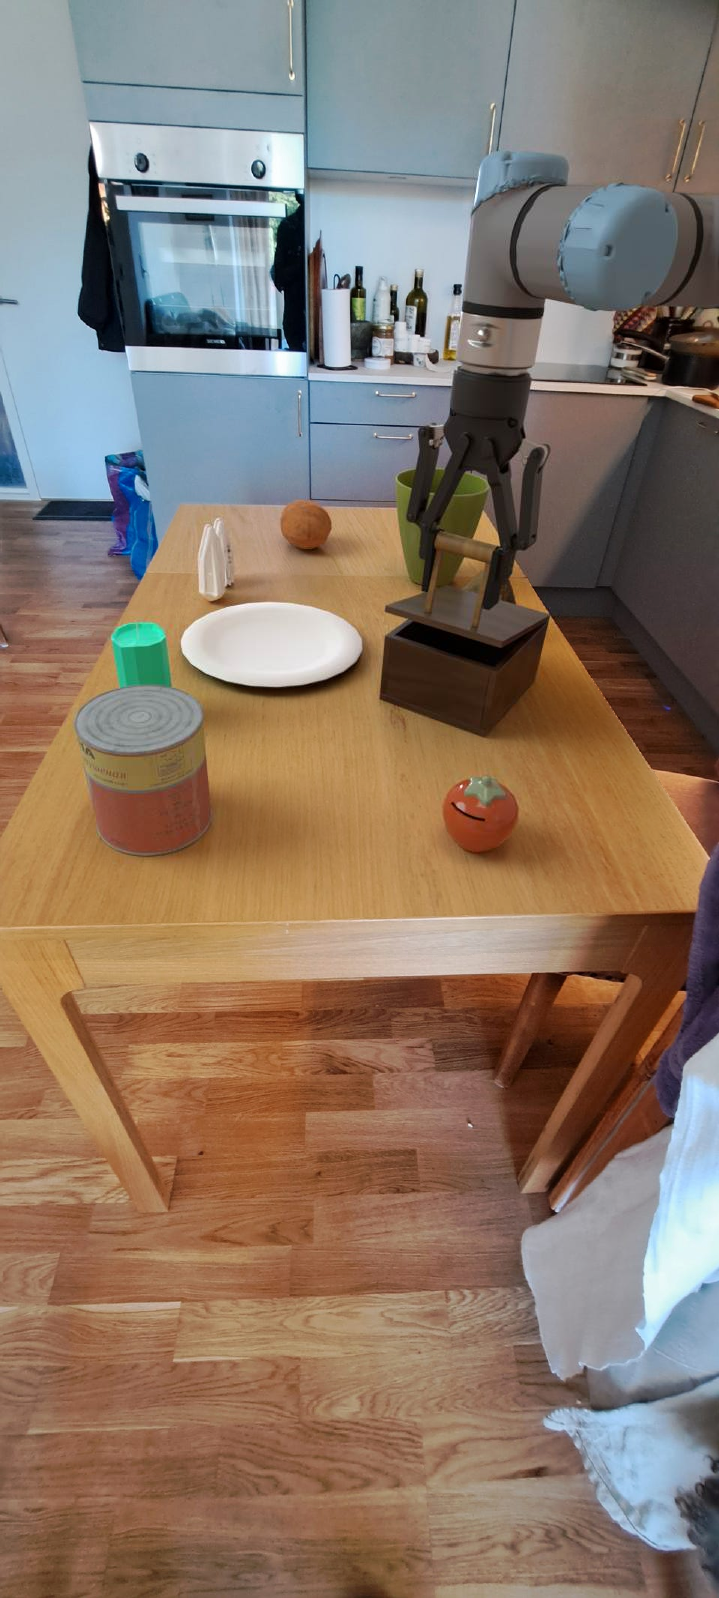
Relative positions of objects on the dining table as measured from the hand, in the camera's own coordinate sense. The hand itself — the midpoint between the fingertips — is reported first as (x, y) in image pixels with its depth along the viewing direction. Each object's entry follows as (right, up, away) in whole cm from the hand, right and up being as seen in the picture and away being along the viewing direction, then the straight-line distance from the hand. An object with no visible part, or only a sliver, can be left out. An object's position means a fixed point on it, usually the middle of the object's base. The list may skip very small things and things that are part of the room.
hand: (459, 596), depth 84 cm
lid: (+2, -1, +6) cm, 6 cm away
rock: (+7, +3, +29) cm, 30 cm away
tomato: (0, -28, -10) cm, 29 cm away
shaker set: (-34, +10, +33) cm, 48 cm away
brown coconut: (-21, +23, +50) cm, 59 cm away
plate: (-24, -3, +18) cm, 30 cm away
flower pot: (+1, +14, +42) cm, 44 cm away
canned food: (-32, -25, -10) cm, 42 cm away
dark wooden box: (+2, -9, +13) cm, 15 cm away
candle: (-37, -13, +4) cm, 39 cm away
